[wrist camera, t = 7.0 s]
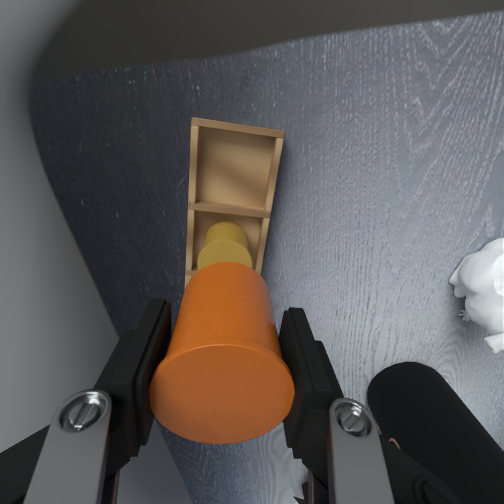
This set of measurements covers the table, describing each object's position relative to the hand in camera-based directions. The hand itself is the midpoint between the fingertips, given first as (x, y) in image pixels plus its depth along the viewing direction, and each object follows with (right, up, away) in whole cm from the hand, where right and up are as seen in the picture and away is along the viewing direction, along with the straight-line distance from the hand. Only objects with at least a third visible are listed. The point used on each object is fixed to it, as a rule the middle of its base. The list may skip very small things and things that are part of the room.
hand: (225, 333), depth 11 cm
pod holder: (-2, +5, +17) cm, 18 cm away
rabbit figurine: (+26, 0, +21) cm, 33 cm away
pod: (0, +1, +2) cm, 2 cm away
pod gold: (-1, +5, +17) cm, 17 cm away
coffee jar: (+22, -16, +28) cm, 39 cm away
